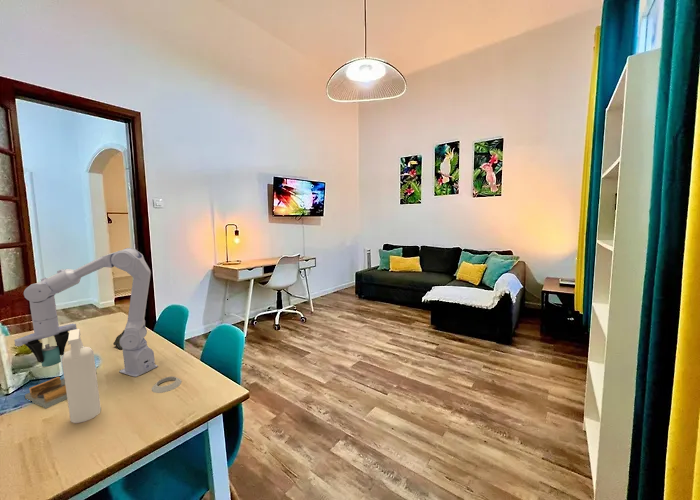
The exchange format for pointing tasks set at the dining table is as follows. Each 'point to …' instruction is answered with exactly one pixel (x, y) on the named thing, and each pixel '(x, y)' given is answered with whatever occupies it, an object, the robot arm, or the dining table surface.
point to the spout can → (50, 355)
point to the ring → (169, 387)
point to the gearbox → (48, 392)
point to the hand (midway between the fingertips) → (51, 358)
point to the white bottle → (80, 380)
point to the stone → (118, 340)
